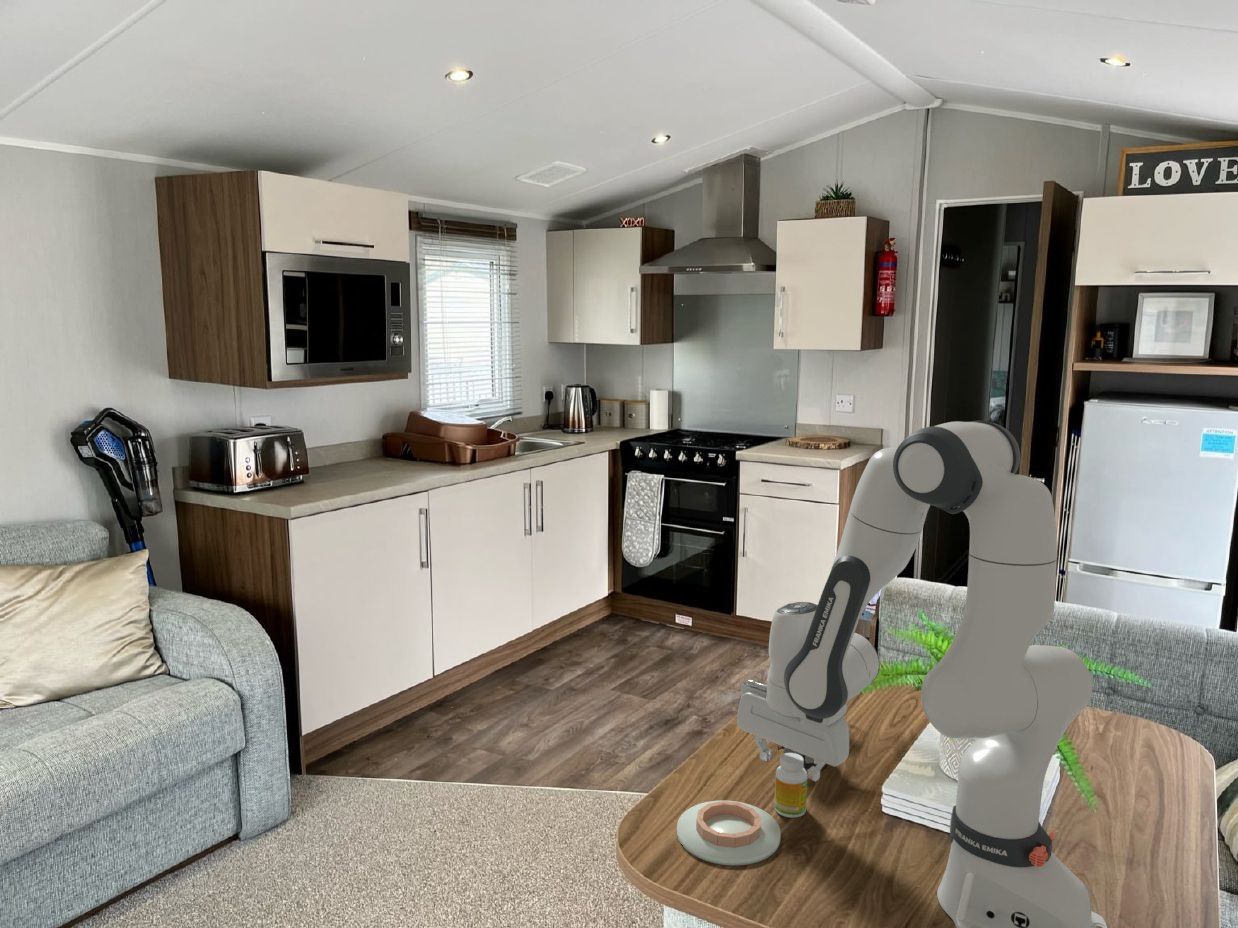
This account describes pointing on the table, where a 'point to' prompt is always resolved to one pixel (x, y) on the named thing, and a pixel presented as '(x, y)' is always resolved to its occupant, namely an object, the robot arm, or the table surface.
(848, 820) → the table surface
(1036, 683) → the robot arm
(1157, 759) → the table surface
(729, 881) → the table surface
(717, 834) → the round tray
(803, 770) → the supplement bottle
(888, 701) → the table surface
